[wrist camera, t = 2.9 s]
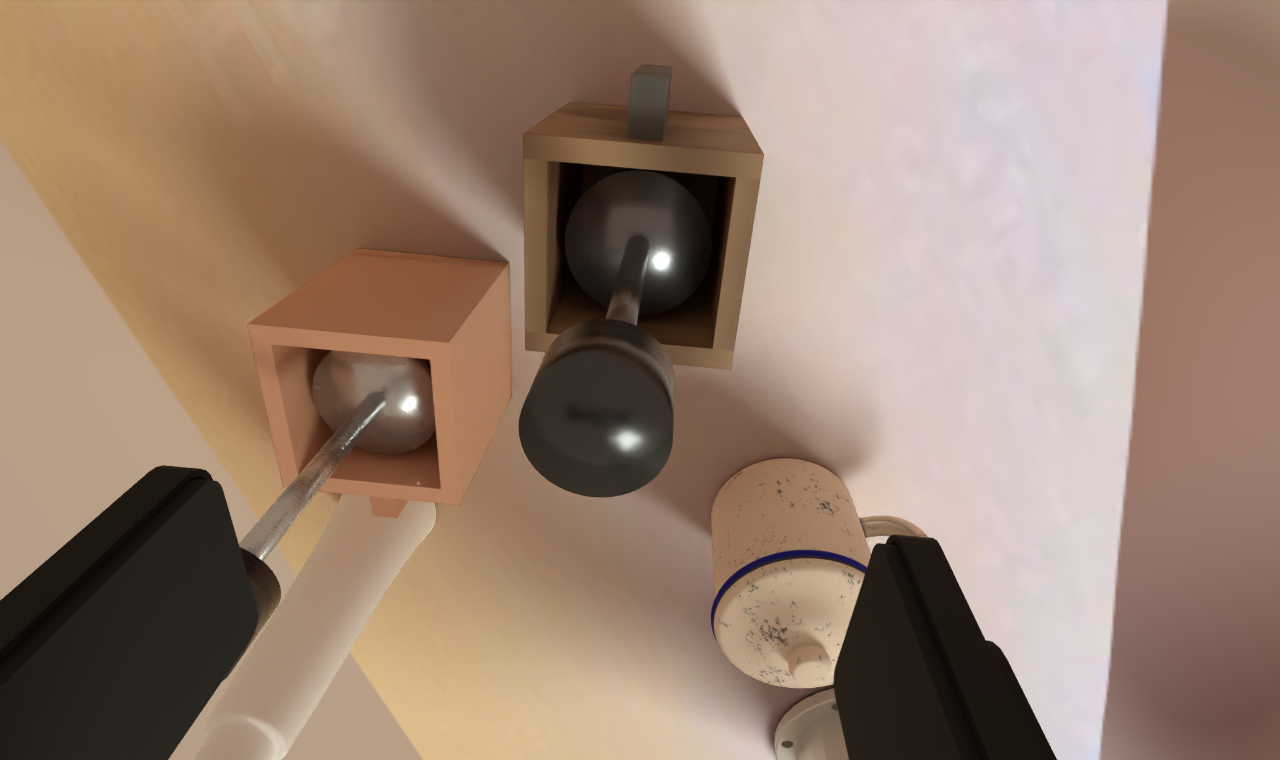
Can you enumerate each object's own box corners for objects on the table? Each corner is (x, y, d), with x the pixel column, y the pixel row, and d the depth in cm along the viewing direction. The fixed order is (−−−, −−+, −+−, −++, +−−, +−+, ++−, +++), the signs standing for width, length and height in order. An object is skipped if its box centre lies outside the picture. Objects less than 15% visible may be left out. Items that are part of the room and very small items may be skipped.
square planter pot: (509, 262, 35) (448, 343, 26) (512, 425, 40) (462, 539, 31) (357, 248, 35) (247, 324, 26) (378, 412, 40) (291, 522, 31)
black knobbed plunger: (440, 342, 29) (255, 580, 17) (448, 450, 32) (293, 725, 19) (312, 330, 29) (33, 557, 17) (330, 438, 32) (102, 704, 19)
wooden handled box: (566, 267, 35) (525, 350, 26) (571, 54, 30) (522, 67, 21) (720, 281, 35) (730, 369, 26) (749, 69, 30) (774, 88, 21)
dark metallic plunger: (720, 174, 25) (750, 323, 13) (702, 314, 28) (713, 551, 15) (569, 161, 25) (454, 296, 13) (566, 301, 28) (468, 526, 15)
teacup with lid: (727, 579, 44) (739, 747, 34) (689, 470, 40) (690, 622, 30) (914, 544, 42) (988, 712, 32) (893, 424, 38) (969, 572, 28)
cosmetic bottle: (369, 547, 45) (128, 944, 26) (327, 475, 42) (23, 857, 23) (451, 533, 44) (265, 935, 25) (414, 458, 41) (171, 844, 22)
